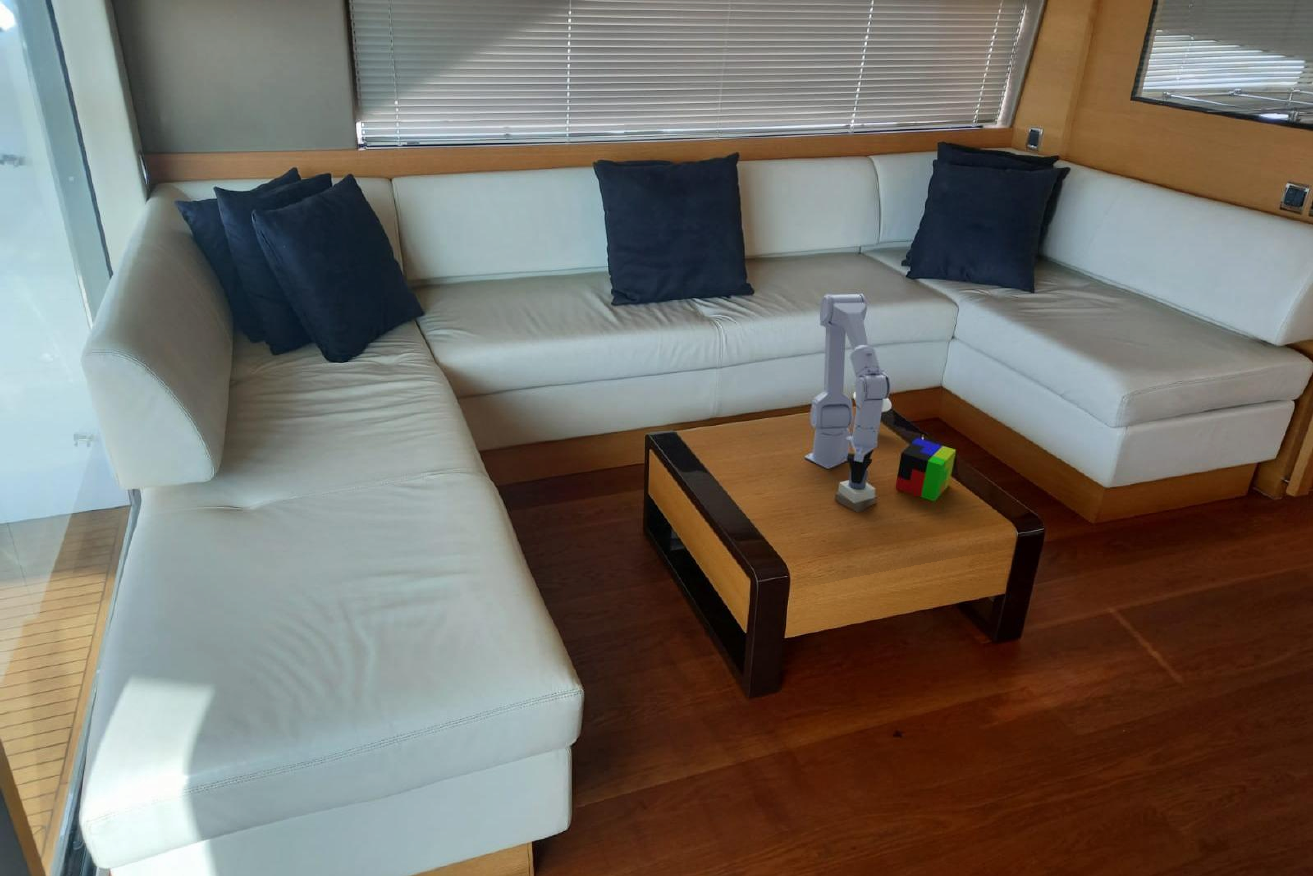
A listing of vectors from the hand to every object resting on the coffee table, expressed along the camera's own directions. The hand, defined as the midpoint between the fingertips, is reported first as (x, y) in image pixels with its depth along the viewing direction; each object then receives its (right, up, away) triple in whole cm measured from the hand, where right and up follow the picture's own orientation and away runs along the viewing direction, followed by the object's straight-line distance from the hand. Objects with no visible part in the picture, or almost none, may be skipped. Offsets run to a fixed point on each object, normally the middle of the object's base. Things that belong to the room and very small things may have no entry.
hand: (859, 475), depth 220 cm
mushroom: (+11, +11, +38) cm, 41 cm away
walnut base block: (0, -7, +3) cm, 8 cm away
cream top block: (0, -5, +2) cm, 5 cm away
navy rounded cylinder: (0, -2, +1) cm, 3 cm away
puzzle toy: (+18, -3, +11) cm, 21 cm away
